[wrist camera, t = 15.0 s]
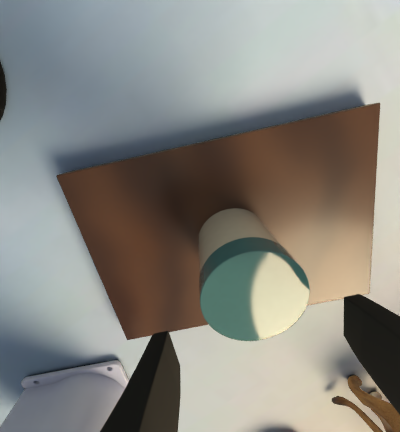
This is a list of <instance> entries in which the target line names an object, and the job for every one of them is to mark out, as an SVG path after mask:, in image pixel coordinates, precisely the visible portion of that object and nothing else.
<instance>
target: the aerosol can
mask: <svg viewBox="0 0 400 432" xmlns="http://www.w3.org/2000/svg"><path fill="white" fill-rule="evenodd" d="M6 90H7V89H6V82H5V75H4V71H3V68H2V65H1V62H0V120H1V118H2V116H3V112H4V109H5V105H6Z"/></svg>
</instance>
